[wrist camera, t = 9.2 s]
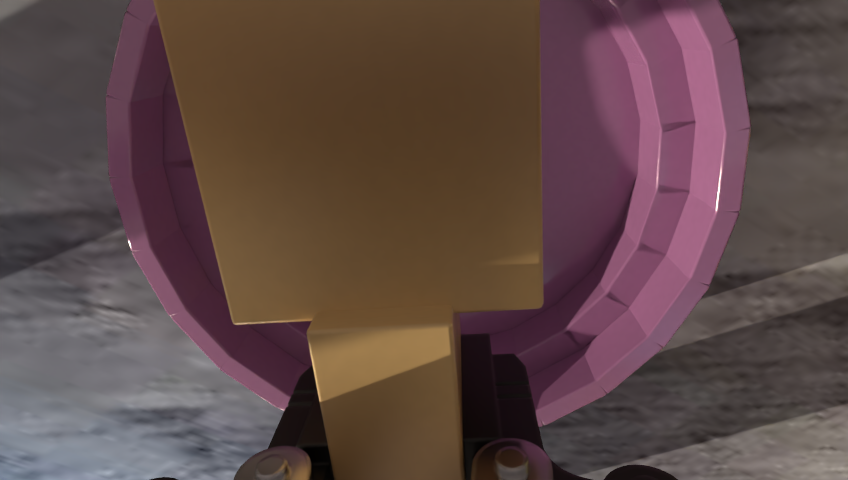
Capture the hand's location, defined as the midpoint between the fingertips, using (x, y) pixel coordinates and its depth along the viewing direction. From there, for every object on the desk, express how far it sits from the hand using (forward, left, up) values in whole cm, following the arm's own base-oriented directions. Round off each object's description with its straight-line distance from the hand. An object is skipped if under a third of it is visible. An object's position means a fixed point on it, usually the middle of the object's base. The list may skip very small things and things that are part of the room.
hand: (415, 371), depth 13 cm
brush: (0, +2, 0) cm, 3 cm away
